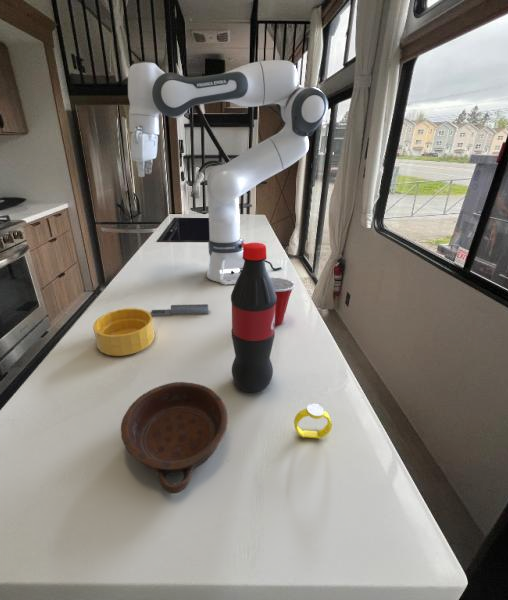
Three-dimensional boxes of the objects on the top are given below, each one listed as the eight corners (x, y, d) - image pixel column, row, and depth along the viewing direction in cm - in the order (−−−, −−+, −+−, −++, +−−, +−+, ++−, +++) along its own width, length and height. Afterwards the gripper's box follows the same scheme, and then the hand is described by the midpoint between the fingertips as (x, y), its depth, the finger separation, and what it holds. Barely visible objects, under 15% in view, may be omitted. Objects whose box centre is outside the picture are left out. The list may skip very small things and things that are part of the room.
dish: (111, 507, 45) (105, 484, 43) (136, 397, 65) (132, 377, 63) (235, 495, 46) (235, 472, 44) (222, 390, 66) (222, 371, 64)
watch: (294, 441, 55) (297, 415, 52) (292, 428, 57) (294, 402, 54) (330, 442, 54) (335, 416, 52) (326, 429, 57) (330, 403, 54)
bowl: (159, 326, 90) (156, 307, 88) (148, 357, 77) (145, 335, 75) (108, 327, 90) (104, 308, 88) (89, 358, 77) (84, 337, 75)
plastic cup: (296, 316, 94) (299, 277, 89) (286, 334, 85) (289, 292, 80) (260, 309, 98) (261, 272, 93) (247, 326, 89) (248, 286, 84)
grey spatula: (208, 310, 98) (208, 303, 97) (208, 314, 96) (207, 307, 95) (152, 311, 98) (151, 304, 97) (150, 315, 96) (149, 308, 95)
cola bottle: (275, 374, 71) (283, 239, 57) (267, 400, 63) (274, 253, 50) (238, 366, 73) (238, 236, 60) (226, 391, 66) (223, 249, 53)
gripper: (147, 126, 89) (147, 179, 95) (160, 128, 107) (160, 173, 113) (124, 124, 89) (126, 177, 95) (141, 127, 107) (142, 171, 113)
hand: (145, 175), depth 104 cm, fingers open, 8 cm apart
